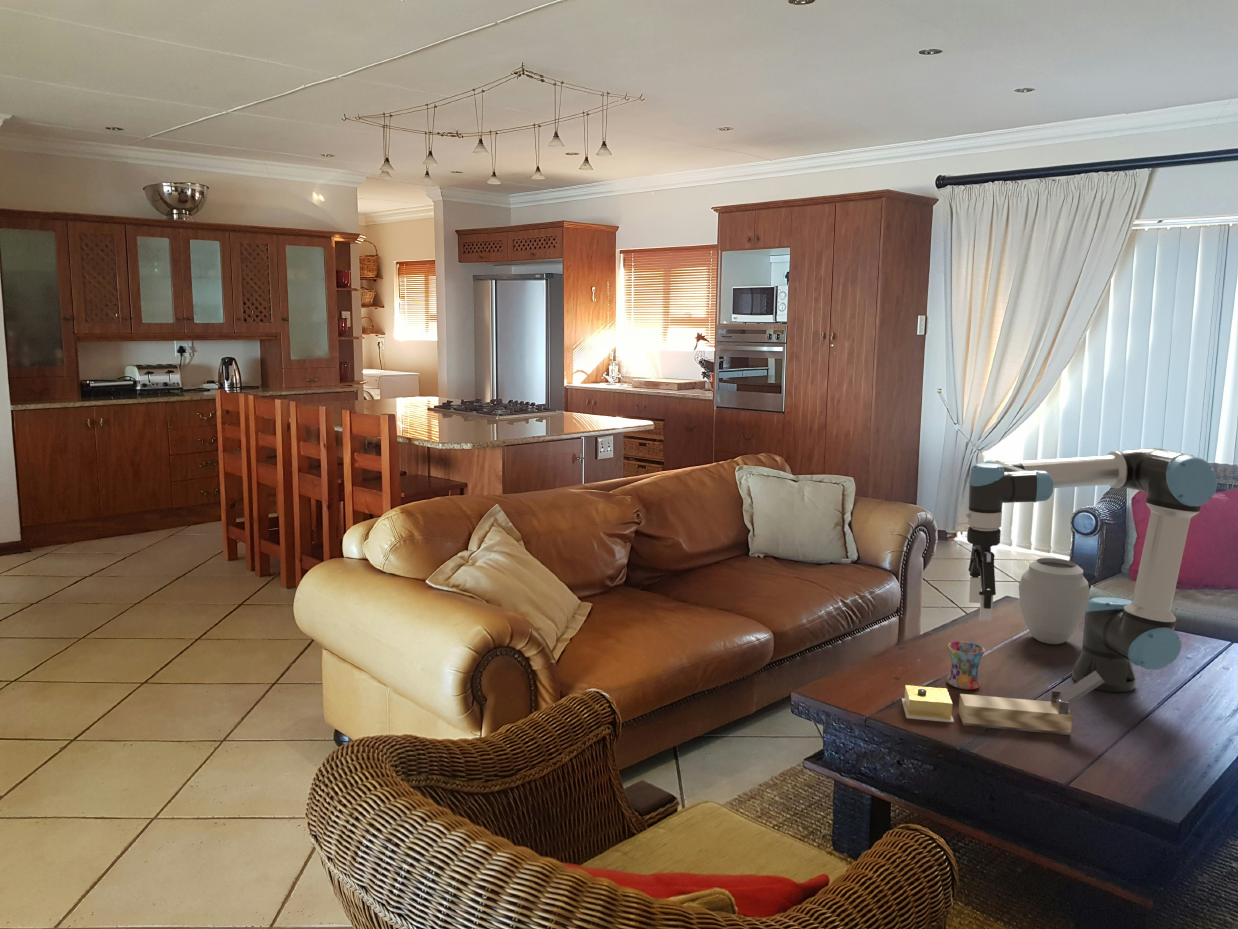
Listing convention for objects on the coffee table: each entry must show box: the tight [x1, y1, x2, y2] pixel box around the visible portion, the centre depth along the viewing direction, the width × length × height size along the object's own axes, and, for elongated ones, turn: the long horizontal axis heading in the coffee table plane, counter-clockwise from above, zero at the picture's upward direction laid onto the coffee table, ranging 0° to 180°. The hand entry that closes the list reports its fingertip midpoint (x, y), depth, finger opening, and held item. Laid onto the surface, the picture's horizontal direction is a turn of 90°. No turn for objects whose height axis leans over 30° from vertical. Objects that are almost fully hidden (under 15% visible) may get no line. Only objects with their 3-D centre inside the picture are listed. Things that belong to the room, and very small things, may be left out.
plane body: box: [957, 689, 1073, 736], centre depth 220 cm, size 24×7×8 cm, turn 79°
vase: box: [1018, 557, 1091, 645], centre depth 276 cm, size 20×20×24 cm
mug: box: [946, 640, 986, 690], centre depth 243 cm, size 12×9×11 cm
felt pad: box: [901, 697, 955, 723], centre depth 227 cm, size 11×11×1 cm
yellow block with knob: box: [903, 684, 953, 719], centre depth 227 cm, size 10×9×5 cm
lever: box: [1054, 671, 1105, 706], centre depth 216 cm, size 1×5×12 cm
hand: (980, 611), depth 225 cm, fingers open, 13 cm apart
